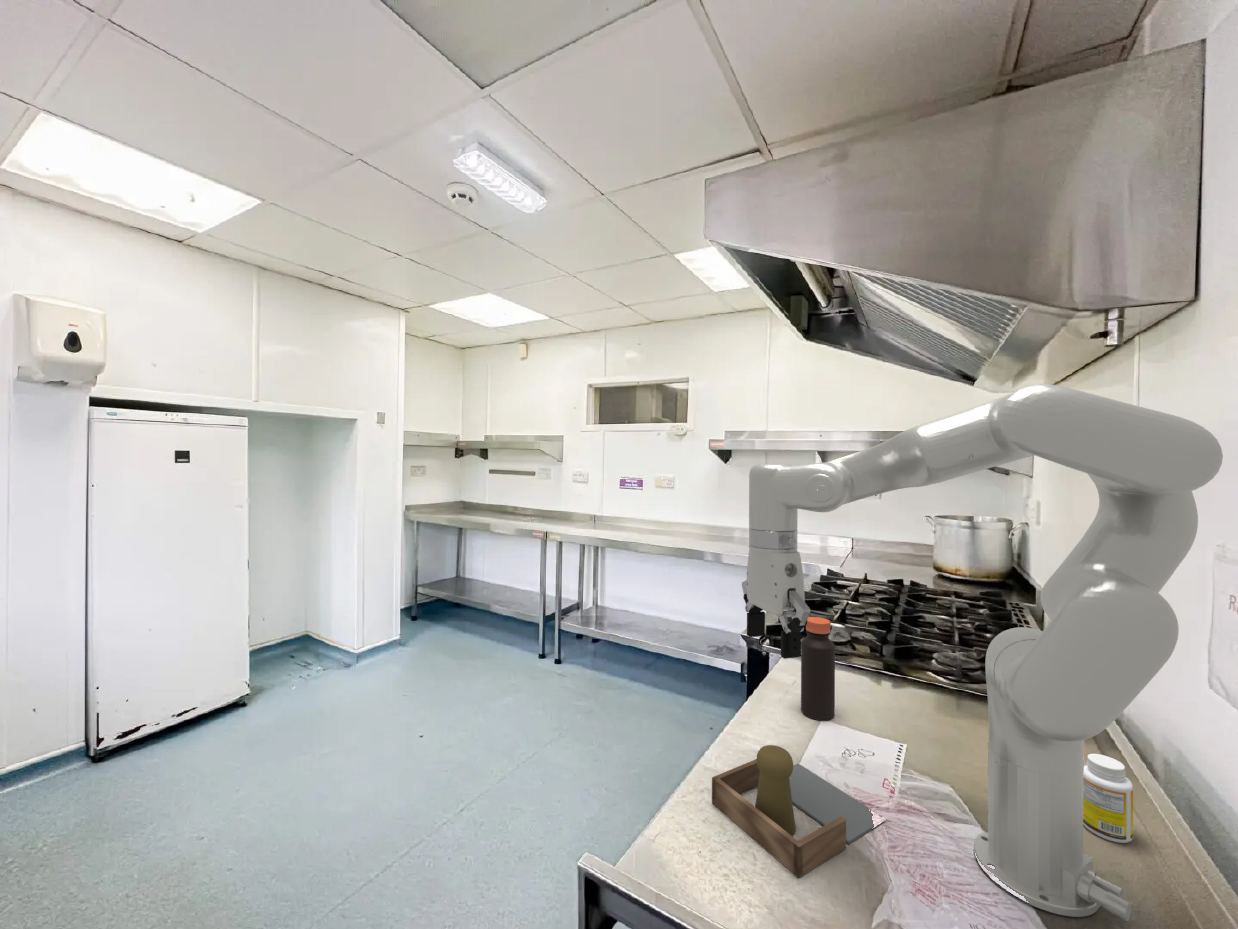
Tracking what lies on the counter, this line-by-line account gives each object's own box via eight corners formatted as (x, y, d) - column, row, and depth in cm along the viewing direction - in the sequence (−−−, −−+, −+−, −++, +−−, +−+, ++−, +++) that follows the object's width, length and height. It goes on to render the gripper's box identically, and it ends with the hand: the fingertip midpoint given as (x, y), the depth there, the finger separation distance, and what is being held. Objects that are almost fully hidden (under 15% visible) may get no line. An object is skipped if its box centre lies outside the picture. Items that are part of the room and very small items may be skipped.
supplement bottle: (1102, 816, 76) (1102, 749, 76) (1144, 844, 70) (1144, 771, 70) (1069, 818, 75) (1069, 751, 75) (1109, 847, 70) (1109, 773, 70)
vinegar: (836, 710, 108) (837, 618, 108) (832, 724, 102) (832, 627, 102) (803, 703, 112) (804, 613, 112) (797, 716, 106) (798, 622, 106)
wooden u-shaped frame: (846, 848, 69) (846, 819, 69) (798, 878, 64) (798, 847, 64) (756, 782, 83) (756, 759, 83) (711, 802, 78) (712, 777, 78)
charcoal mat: (885, 821, 75) (885, 818, 75) (848, 844, 70) (848, 841, 70) (798, 765, 88) (798, 763, 88) (762, 782, 84) (762, 779, 84)
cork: (790, 812, 76) (790, 740, 76) (800, 841, 70) (801, 764, 70) (750, 809, 77) (750, 738, 77) (757, 838, 71) (757, 761, 71)
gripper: (828, 547, 73) (828, 664, 73) (763, 532, 90) (762, 627, 90) (784, 549, 71) (784, 669, 71) (725, 533, 88) (725, 631, 88)
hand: (772, 646), depth 80 cm, fingers open, 9 cm apart
